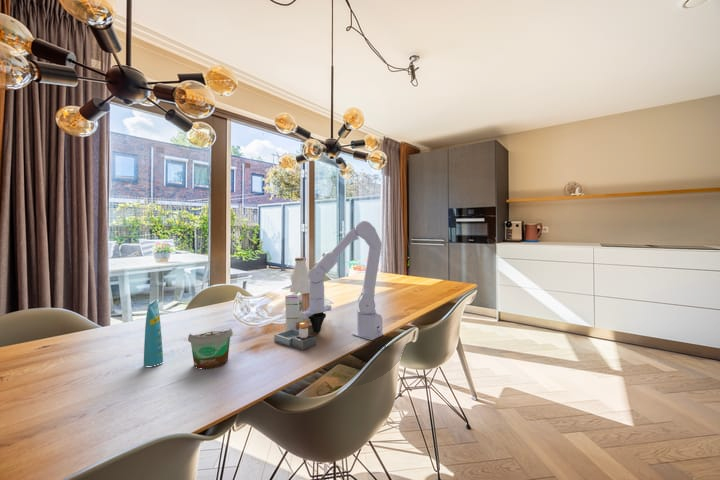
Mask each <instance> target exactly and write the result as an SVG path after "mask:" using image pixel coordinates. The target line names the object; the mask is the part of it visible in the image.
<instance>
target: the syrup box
mask: <svg viewBox="0 0 720 480" xmlns="http://www.w3.org/2000/svg"><path fill="white" fill-rule="evenodd" d="M284 302H285V303H284V305H285V307H284V308H285V309H284V310H285V331H287V330H290V329H295V330H296V323H297V322H300V321H303V320H302V318H301V312H302V293H299V292H293V293H290V292H288V293H287V294H286V295H285V296H284Z"/></svg>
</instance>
